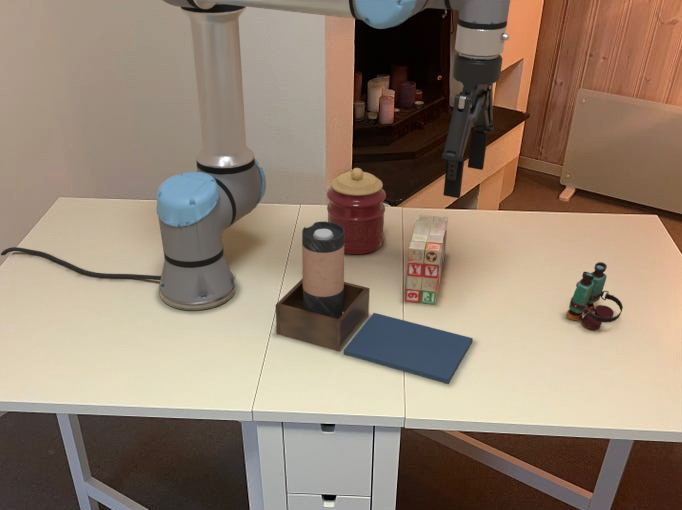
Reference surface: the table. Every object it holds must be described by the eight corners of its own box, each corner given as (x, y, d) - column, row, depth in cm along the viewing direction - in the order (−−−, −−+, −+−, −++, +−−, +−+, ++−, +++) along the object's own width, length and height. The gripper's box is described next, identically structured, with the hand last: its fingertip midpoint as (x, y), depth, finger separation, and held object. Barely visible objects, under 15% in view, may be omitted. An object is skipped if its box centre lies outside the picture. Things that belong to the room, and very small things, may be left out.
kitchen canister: (390, 252, 169) (394, 177, 158) (334, 258, 166) (334, 182, 156) (374, 227, 179) (377, 155, 169) (321, 232, 177) (321, 159, 166)
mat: (343, 354, 137) (343, 349, 137) (373, 316, 148) (373, 312, 147) (448, 384, 130) (449, 379, 130) (472, 342, 141) (472, 338, 140)
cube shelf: (276, 334, 142) (275, 304, 138) (308, 300, 152) (307, 272, 148) (339, 351, 138) (340, 322, 134) (368, 316, 148) (369, 287, 144)
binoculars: (619, 295, 136) (571, 271, 141) (601, 341, 143) (556, 315, 148) (643, 278, 141) (596, 255, 146) (624, 323, 148) (580, 299, 153)
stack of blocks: (416, 252, 169) (421, 201, 162) (445, 255, 168) (450, 204, 161) (404, 301, 152) (408, 247, 145) (435, 305, 151) (441, 250, 144)
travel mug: (343, 336, 142) (344, 240, 130) (302, 336, 142) (300, 240, 130) (343, 314, 148) (345, 221, 136) (304, 314, 148) (302, 220, 136)
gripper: (479, 77, 108) (463, 213, 121) (522, 38, 126) (504, 160, 139) (429, 70, 111) (418, 204, 123) (478, 33, 129) (464, 154, 142)
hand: (463, 181), depth 131 cm, fingers open, 13 cm apart
